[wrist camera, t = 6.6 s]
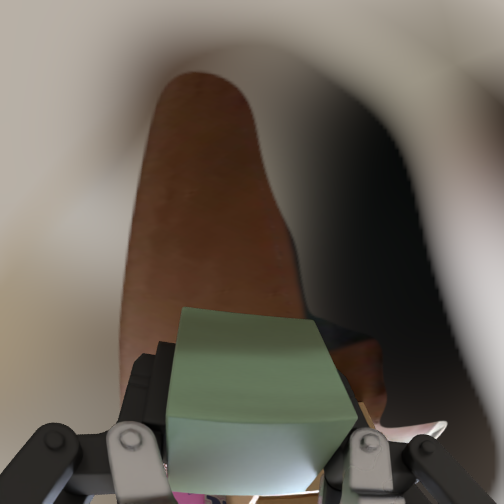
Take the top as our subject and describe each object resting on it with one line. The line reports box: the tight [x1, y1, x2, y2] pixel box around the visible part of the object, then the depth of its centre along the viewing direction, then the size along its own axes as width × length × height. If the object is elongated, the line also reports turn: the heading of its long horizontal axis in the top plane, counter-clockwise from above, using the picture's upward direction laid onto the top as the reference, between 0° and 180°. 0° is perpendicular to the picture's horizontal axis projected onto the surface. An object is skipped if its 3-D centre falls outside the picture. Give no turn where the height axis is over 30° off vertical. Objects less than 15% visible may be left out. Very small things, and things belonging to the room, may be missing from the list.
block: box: [166, 307, 358, 495], centre depth 9 cm, size 4×4×4 cm
